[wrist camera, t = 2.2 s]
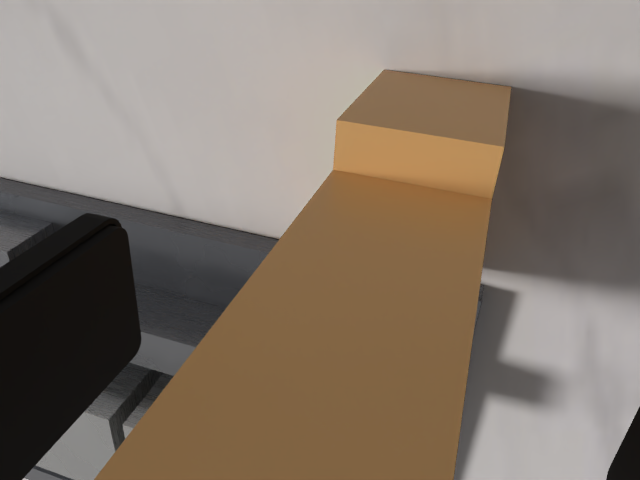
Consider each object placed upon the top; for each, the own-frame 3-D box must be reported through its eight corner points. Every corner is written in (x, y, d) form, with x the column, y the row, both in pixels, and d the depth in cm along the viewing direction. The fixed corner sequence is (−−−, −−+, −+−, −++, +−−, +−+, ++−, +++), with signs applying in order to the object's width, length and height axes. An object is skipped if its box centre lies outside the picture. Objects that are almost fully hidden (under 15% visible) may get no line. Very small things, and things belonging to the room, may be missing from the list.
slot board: (-209, 131, 22) (-295, 156, 20) (483, 285, 15) (475, 349, 13) (-90, 382, 29) (-143, 422, 27) (413, 559, 23) (400, 631, 20)
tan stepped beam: (384, 69, 13) (-17, 494, 4) (511, 86, 13) (444, 677, 3) (364, 243, 16) (102, 763, 6) (469, 266, 15) (360, 894, 6)
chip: (75, 319, 21) (2, 384, 18) (169, 347, 20) (108, 420, 17) (92, 394, 23) (30, 463, 20) (178, 422, 22) (125, 498, 19)
